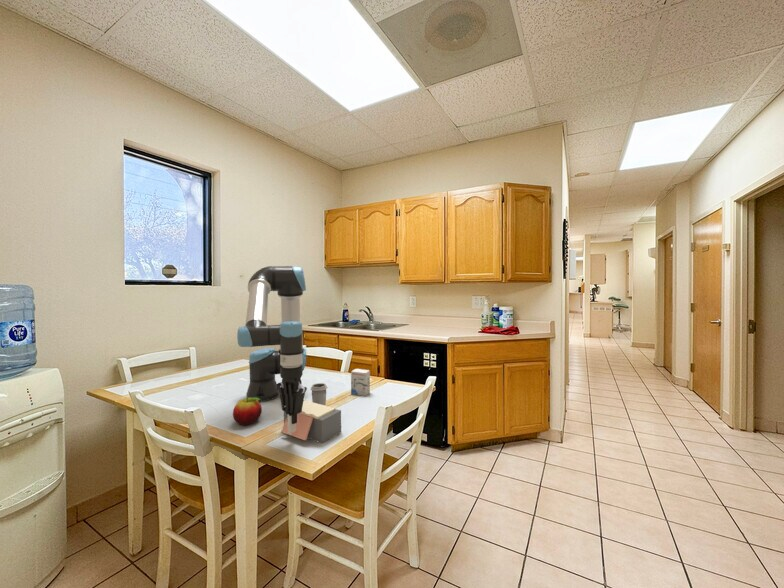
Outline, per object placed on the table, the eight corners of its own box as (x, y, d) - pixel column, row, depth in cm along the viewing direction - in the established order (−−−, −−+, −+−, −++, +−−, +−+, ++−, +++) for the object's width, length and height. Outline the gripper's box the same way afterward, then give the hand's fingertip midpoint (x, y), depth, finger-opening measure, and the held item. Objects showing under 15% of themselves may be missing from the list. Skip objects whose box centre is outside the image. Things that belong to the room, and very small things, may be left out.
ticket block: (284, 429, 125) (283, 406, 125) (303, 420, 134) (303, 398, 133) (322, 443, 115) (322, 417, 114) (341, 431, 123) (340, 408, 123)
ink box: (350, 394, 164) (350, 370, 163) (355, 390, 168) (355, 368, 168) (365, 396, 161) (365, 372, 160) (370, 393, 165) (370, 370, 165)
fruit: (241, 416, 138) (240, 393, 137) (266, 416, 137) (266, 393, 137) (227, 428, 127) (226, 402, 126) (255, 428, 127) (254, 403, 126)
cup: (312, 416, 137) (311, 388, 136) (309, 411, 143) (309, 384, 142) (329, 414, 140) (328, 386, 139) (325, 408, 146) (325, 381, 145)
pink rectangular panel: (282, 432, 120) (281, 431, 119) (290, 411, 122) (288, 410, 122) (306, 440, 113) (304, 440, 113) (313, 418, 116) (312, 417, 116)
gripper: (270, 365, 115) (271, 431, 116) (295, 370, 108) (296, 440, 109) (287, 361, 122) (288, 424, 122) (312, 365, 115) (312, 432, 115)
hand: (291, 431), depth 115 cm, fingers closed
